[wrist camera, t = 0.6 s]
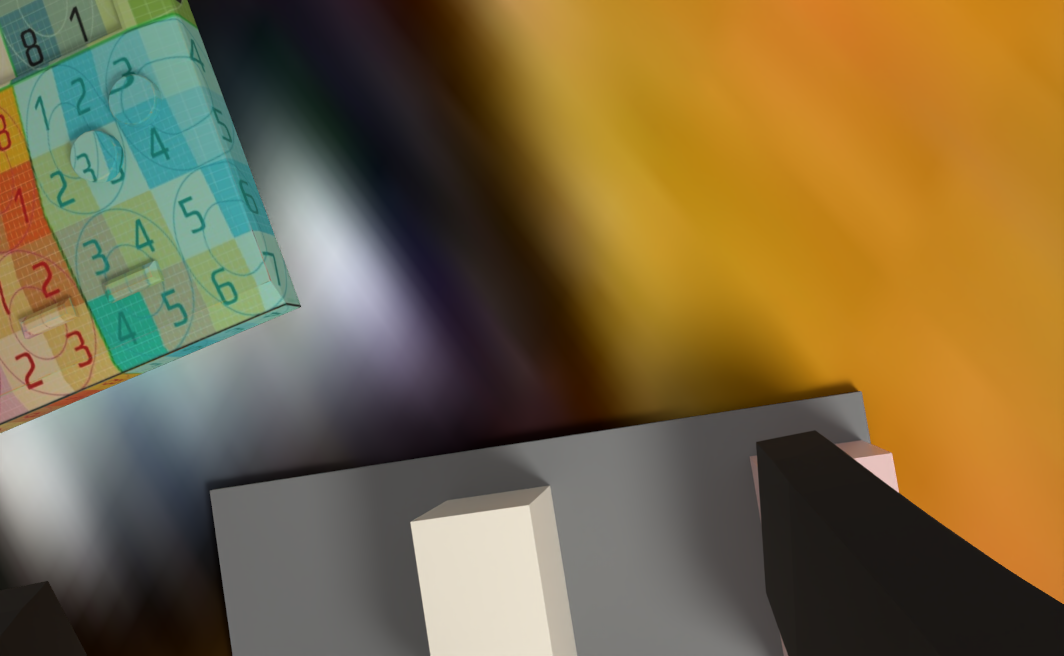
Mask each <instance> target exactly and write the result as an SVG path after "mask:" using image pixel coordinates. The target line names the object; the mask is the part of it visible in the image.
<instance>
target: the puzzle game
mask: <svg viewBox="0 0 1064 656" xmlns="http://www.w3.org/2000/svg"><path fill="white" fill-rule="evenodd" d="M300 307H301V305H300V303H299V300H298V297H297V295H296V292H295V289H294V286H293V284H292V281H291V278H290V276H289V273H288V270H287V268H286V265H285V262H284V260H283V257H282V254H281V251H280V249H279V246H278V243H277V241H276V238H275V235H274V233H273V230H272V227H271V225H270V222H269V219H268V217H267V214H266V211H265V208H264V206H263V203H262V200H261V198H260V195H259V192H258V190H257V187H256V184H255V182H254V179H253V176H252V173H251V171H250V168H249V165H248V163H247V160H246V157H245V155H244V152H243V149H242V147H241V144H240V141H239V138H238V136H237V133H236V130H235V128H234V125H233V122H232V120H231V117H230V114H229V112H228V109H227V106H226V103H225V101H224V98H223V95H222V93H221V90H220V87H219V85H218V82H217V79H216V77H215V74H214V71H213V69H212V66H211V63H210V60H209V58H208V55H207V52H206V50H205V47H204V44H203V42H202V39H201V36H200V34H199V31H198V28H197V25H196V23H195V20H194V17H193V15H192V12H191V9H190V7H189V4H188V1H187V0H0V433H2V432H4V431H7V430H9V429H11V428H14V427H16V426H19V425H21V424H23V423H26V422H28V421H30V420H33V419H35V418H38V417H40V416H42V415H45V414H47V413H50V412H52V411H54V410H57V409H59V408H61V407H64V406H66V405H69V404H71V403H73V402H76V401H78V400H80V399H83V398H85V397H88V396H90V395H92V394H95V393H97V392H100V391H102V390H104V389H107V388H109V387H111V386H114V385H116V384H119V383H121V382H123V381H126V380H128V379H130V378H133V377H135V376H138V375H140V374H142V373H145V372H147V371H150V370H152V369H154V368H157V367H159V366H161V365H164V364H166V363H169V362H171V361H173V360H176V359H178V358H180V357H183V356H185V355H188V354H190V353H192V352H195V351H197V350H200V349H202V348H204V347H207V346H209V345H211V344H214V343H216V342H219V341H221V340H223V339H226V338H228V337H230V336H233V335H235V334H238V333H240V332H242V331H245V330H247V329H250V328H252V327H254V326H257V325H259V324H261V323H264V322H266V321H269V320H271V319H273V318H276V317H278V316H280V315H283V314H285V313H288V312H290V311H292V310H295V309H297V308H300Z"/></svg>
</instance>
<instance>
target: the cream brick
mask: <svg viewBox="0 0 1064 656" xmlns="http://www.w3.org/2000/svg"><path fill="white" fill-rule="evenodd" d="M410 523H411V530H412V536H413V543H414V550H415V556H416V563H417V569H418V576H419V583H420V589H421V596H422V603H423V609H424V616H425V622H426V629H427V636H428V642H429V649H430V656H577V651H576V645H575V639H574V633H573V626H572V620H571V614H570V607H569V601H568V595H567V589H566V582H565V576H564V570H563V563H562V557H561V551H560V545H559V538H558V532H557V526H556V520H555V513H554V507H553V501H552V494H551V488H550V485H549V486H542V487H536V488H529V489H522V490H515V491H508V492H501V493H494V494H487V495H481V496H474V497H467V498H460V499H453V500H447V501H445V502H443V503H442V504H440V505H438V506H437V507H435V508H433V509H432V510H430V511H428V512H426V513H425V514H423V515H421V516H420V517H418V518H416V519H414V520H413V521H411V522H410Z"/></svg>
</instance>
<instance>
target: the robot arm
mask: <svg viewBox="0 0 1064 656" xmlns="http://www.w3.org/2000/svg"><path fill="white" fill-rule="evenodd" d="M756 450H757V465H758V480H759V495H760V511H761V526H762V541H763V556H764V571H765V586H766V594H767V597H768V600H769V603H770V606H771V609H772V611H773V614H774V617H775V620H776V623H777V626H778V629H779V631H780V634H781V637H782V640H783V643H784V646H785V648H786V651H787V654H788V656H1064V604H1062V603H1061V602H1059V601H1057V600H1056V599H1054V598H1052V597H1051V596H1049V595H1048V594H1046V593H1044V592H1043V591H1041V590H1040V589H1038V588H1036V587H1035V586H1033V585H1031V584H1030V583H1028V582H1027V581H1025V580H1023V579H1022V578H1020V577H1019V576H1017V575H1016V574H1014V573H1013V572H1011V571H1010V570H1008V569H1006V568H1005V567H1003V566H1002V565H1000V564H999V563H997V562H996V561H994V560H993V559H991V558H990V557H989V556H987V555H986V554H984V553H983V552H981V551H980V550H978V549H977V548H976V547H974V546H973V545H971V544H970V543H968V542H967V541H965V540H964V539H963V538H961V537H960V536H958V535H957V534H955V533H954V532H952V531H951V530H950V529H948V528H947V527H945V526H944V525H942V524H941V523H939V522H938V521H937V520H935V519H934V518H932V517H931V516H930V515H928V514H927V513H926V512H924V511H923V510H921V509H920V508H919V507H917V506H916V505H915V504H913V503H912V502H911V501H909V500H908V499H906V498H905V497H904V496H902V495H901V494H900V493H898V492H897V491H896V490H894V489H893V488H892V487H890V486H889V485H888V484H886V483H885V482H884V481H882V480H881V479H880V478H878V477H877V476H876V475H874V474H873V473H872V472H870V471H869V470H868V469H867V468H865V467H864V466H863V465H861V464H860V463H859V462H857V461H856V460H855V459H853V458H852V457H851V456H850V455H848V454H847V453H846V452H844V451H843V450H842V449H840V448H839V447H838V446H836V445H835V444H834V443H832V442H831V441H830V440H828V439H827V438H826V437H824V436H823V435H821V434H820V433H819V432H817V431H816V430H814V431H809V432H803V433H798V434H793V435H788V436H783V437H778V438H773V439H768V440H763V441H758V442H756ZM0 656H87V655H86V653H85V651H84V649H83V647H82V645H81V643H80V641H79V639H78V637H77V636H76V634H75V632H74V630H73V628H72V626H71V624H70V622H69V620H68V618H67V616H66V615H65V613H64V611H63V609H62V607H61V605H60V603H59V601H58V599H57V597H56V596H55V594H54V592H53V590H52V588H51V586H50V584H49V582H48V581H46V582H41V583H36V584H31V585H26V586H21V587H16V588H11V589H6V590H1V591H0Z"/></svg>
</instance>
